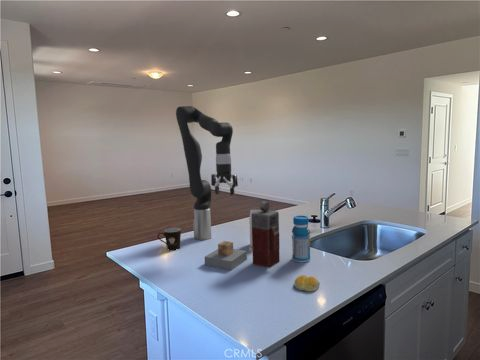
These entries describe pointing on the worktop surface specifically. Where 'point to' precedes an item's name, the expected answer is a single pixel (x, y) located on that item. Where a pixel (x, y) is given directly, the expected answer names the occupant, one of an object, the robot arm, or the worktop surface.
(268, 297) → the worktop surface
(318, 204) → the worktop surface
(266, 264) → the red rectangular canister
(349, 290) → the worktop surface
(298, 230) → the beverage bottle
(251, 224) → the milk carton
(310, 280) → the bread roll
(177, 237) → the coffee mug
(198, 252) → the worktop surface
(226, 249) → the walnut cube
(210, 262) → the gray square block
